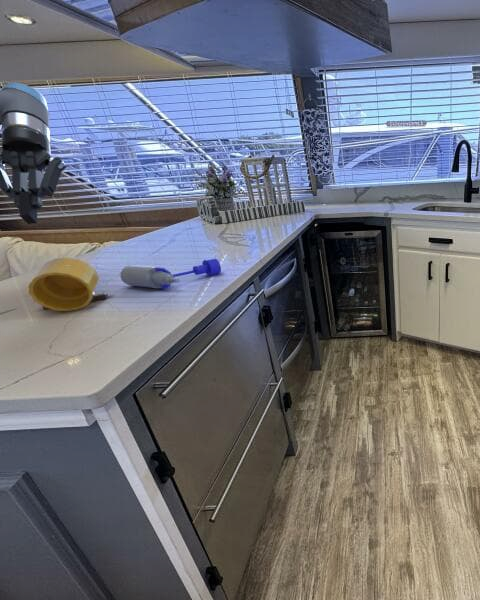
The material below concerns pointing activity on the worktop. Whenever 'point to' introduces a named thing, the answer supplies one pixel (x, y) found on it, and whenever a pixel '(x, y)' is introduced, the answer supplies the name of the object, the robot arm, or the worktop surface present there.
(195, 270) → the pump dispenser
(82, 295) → the bowl
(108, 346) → the worktop surface
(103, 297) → the stop bar
